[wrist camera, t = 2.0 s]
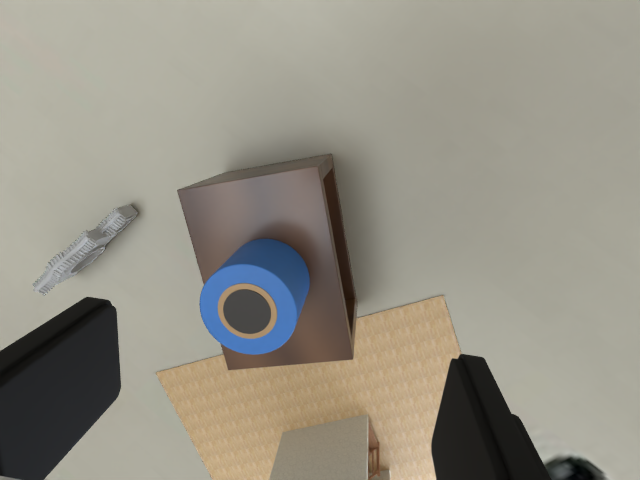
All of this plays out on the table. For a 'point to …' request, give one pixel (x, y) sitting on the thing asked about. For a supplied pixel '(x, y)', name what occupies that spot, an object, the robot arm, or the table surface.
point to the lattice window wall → (84, 249)
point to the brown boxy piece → (292, 229)
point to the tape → (256, 297)
